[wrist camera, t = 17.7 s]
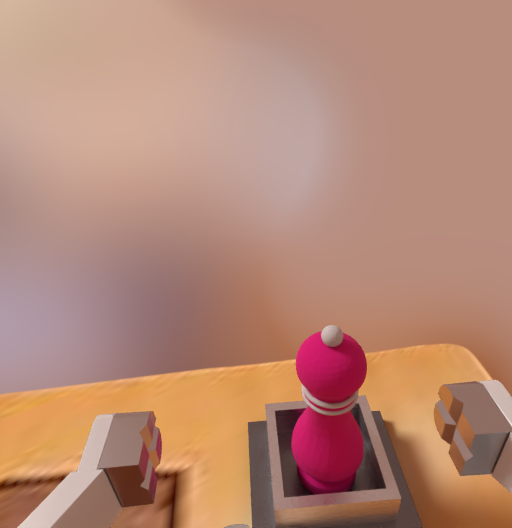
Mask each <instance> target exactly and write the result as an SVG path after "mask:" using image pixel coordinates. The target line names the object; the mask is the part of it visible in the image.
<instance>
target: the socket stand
mask: <svg viewBox="0 0 512 528" xmlns="http://www.w3.org/2000/svg"><path fill="white" fill-rule="evenodd" d="M307 406H308V405H307V403H306V402H305V401H295V402H284V403H273V404H265V408H266V419H267V421H257V422H248V433H249V457H250V482H251V506H252V528H423V527H422V524H421V521H420V519H419V516H418V513H417V511H416V508H415V505H414V502H413V500H412V497H411V494H410V492H409V489H408V486H407V484H406V481H405V478H404V475H403V473H402V470H401V467H400V465H399V462H398V459H397V457H396V454H395V451H394V448H393V446H392V443H391V440H390V438H389V435H388V432H387V430H386V427H385V424H384V421H383V419H382V416H381V413H380V411H371V410H370V407H369V404H368V401H367V398H366V396H365V395H364V396H358V399H357V402H356V404H355V406H354V407H353V408H352V409H351V413H352V415H353V417H354V418H355V420H356V422H357V423H358V425H359V428H360V431H361V434H362V437H363V445H364V454H363V459H362V463H361V465H360V467H359V469H358V470H357V471H356V477H355V481H354V484H353V485H352V487H351V488H350V489H349V490H348V491H347V492H341V493H330V494H319V495H315V494H313V493H312V492H310V491H309V490H308V489H307V488H306V487H305V486H304V485H303V484H302V482H301V481H300V479H299V476H298V473H297V463H296V461H295V459H294V456H293V453H292V446H291V443H292V434H293V430H294V427H295V425H296V423H297V421H298V419H299V417H300V416H301V415H302V414H303V412H304V411H305V410H306V409H307Z"/></svg>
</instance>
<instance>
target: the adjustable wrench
mask: <svg viewBox="0 0 512 528" xmlns="http://www.w3.org/2000/svg"><path fill="white" fill-rule="evenodd" d="M224 528H249V526H248V525H244V524H235V525H230V526H226V527H224Z"/></svg>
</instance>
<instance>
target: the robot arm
mask: <svg viewBox="0 0 512 528" xmlns="http://www.w3.org/2000/svg"><path fill="white" fill-rule="evenodd" d="M438 394H439V396H440V398H441V400H440V401H438V402H437V403H436V404H435V409H434V419H435V424H436V427H437V430H438V432H439V434H440V436H441V438H442V439H443V440H445V441H446V442H447V443H449V444H450V449H449V455H450V457H451V459H452V461H453V463H454V465H455V467H456V469H457V470H458V472H459V474H460V476H467V475H484V474H492V476H493V477H494V478H495V479H496V480H497V481H498V482H499V483H500V484H502V485H503V486H504V487H505V488H506V489H507V490H508V491H509V492H511V493H512V398H511V396H510V394H509V393H508V392H507V390H506V389H505V388H504V386H503V385H502V383H500V382H499V381H497V380H489V381H479V382H476V381H474V382H464V383H455V384H445V385H442V386H441V387H440V389H439V392H438ZM155 420H156V418H155V415H154V412H153V411H148V412H132V413H115V414H103V415H98V416H97V417H96V419H95V420H94V422H93V425H92V428H91V431H90V434H89V437H88V440H87V443H86V446H85V449H84V452H83V455H82V458H81V461H80V464H79V467H78V469H77V471H75V472H71V473H70V474H69V475H68V476H67V477H66V478H65V479H64V480H63V481H62V482H61V483H60V484H59V485H58V486H57V487H56V488H55V489H54V490H53V492H52V493H51V494H50V495H49V496H48V497H47V498H46V499H45V500H44V501H43V502H42V503H41V504H40V505H39V506H38V507H37V508H36V509H35V510H34V511H33V512H32V513H31V514H30V515H29V516H28V517H27V518H26V519H25V520H24V521H23V522H22V524H21V525H20V526H19V527H18V528H110V527H111V525H112V524H113V522H114V521H115V519H116V518H117V516H118V515H119V514H120V512H121V511H122V507H130V506H138V505H147V504H154V498H155V492H156V485H157V476H156V473H155V469H156V467H157V466H158V465H159V464H160V460H161V450H162V441H161V434H160V430H159V428H157V427H156V426H155Z"/></svg>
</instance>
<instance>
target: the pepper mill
mask: <svg viewBox="0 0 512 528" xmlns="http://www.w3.org/2000/svg"><path fill="white" fill-rule="evenodd" d="M296 370H297V375H298V377H299V379H300V381H301V383H302V396H303V399H304V400H305V402H306V403H307V405H308V406H307V409H306V410H305V411H304V412H303V414H302V415H301V416H300V417H299V419H298V421H297V423H296V425H295V427H294V430H293V434H292V443H291V446H292V453H293V456H294V459H295V461H296V463H297V473H298V476H299V479H300V481H301V482H302V484H303V485H304V486H305V487H306V488H307V489H308V490H309V491H310V492H312V493H313V494H315V495H319V494H330V493H341V492H347V491H348V490H349V489H350V488H351V487H352V485H353V484H354V481H355V477H356V471H357V470H358V469H359V467H360V465H361V463H362V459H363V454H364V445H363V437H362V434H361V431H360V428H359V425H358V423H357V422H356V420H355V418H354V417H353V415H352V413H351V409H352V408H353V407H354V406H355V404H356V402H357V399H358V391H359V388H360V387H361V385H362V384H363V382H364V380H365V377H366V371H367V362H366V358H365V354H364V352H363V350H362V348H361V346H360V345H359V344H358V343H357V342H356V340H354V339H353V338H352V337H351V336H349V335H347V334H344V333H342V331H341V329H340V328H339V327H337V326H335V325H329V326H327V327H325V328H324V329H323V331H321V332H318V333H315V334H313V335H311V336H310V337H309V338H307V339H306V340H305V341H304V342H303V344H302V345H301V347H300V349H299V351H298V353H297V358H296Z"/></svg>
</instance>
